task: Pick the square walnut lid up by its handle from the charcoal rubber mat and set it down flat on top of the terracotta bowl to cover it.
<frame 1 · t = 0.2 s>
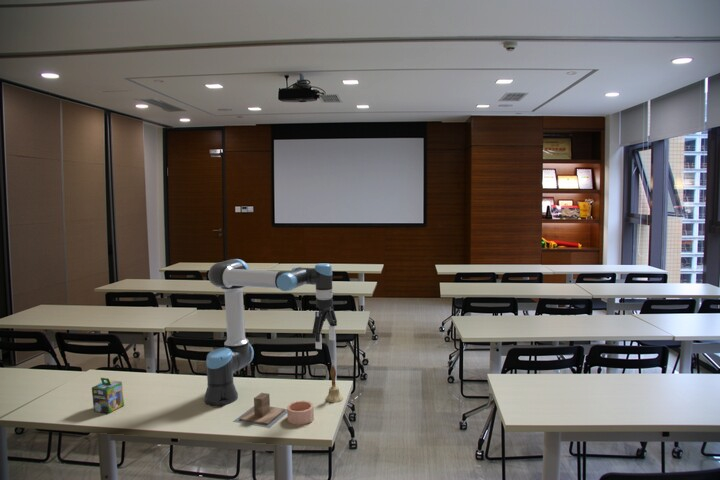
hand: (325, 344, 225), 28 cm above the table, tool pointing down, fingers open, 13 cm apart
chalk box: (108, 409, 227), on the table
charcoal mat: (262, 416, 215), on the table
terracotta bowl: (300, 419, 211), on the table
hand bell: (334, 399, 232), on the table
walnut lid: (262, 415, 215), point 1 cm above the table, touching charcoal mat
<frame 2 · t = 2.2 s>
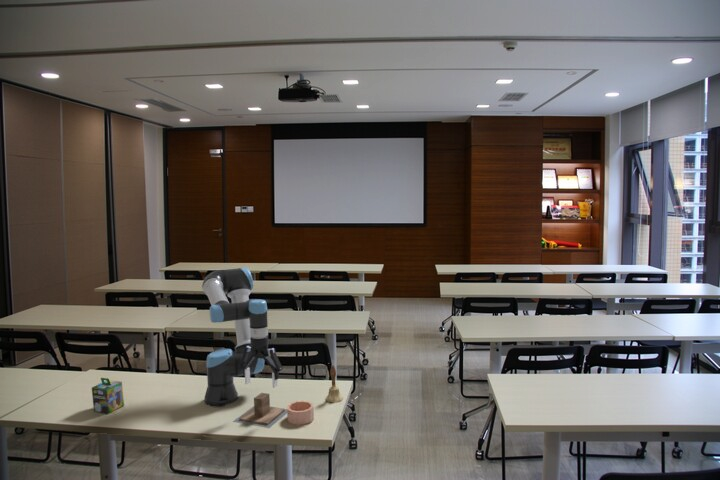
hand: (261, 384, 213), 14 cm above the table, tool pointing down, fingers open, 13 cm apart
nothing on the table moved.
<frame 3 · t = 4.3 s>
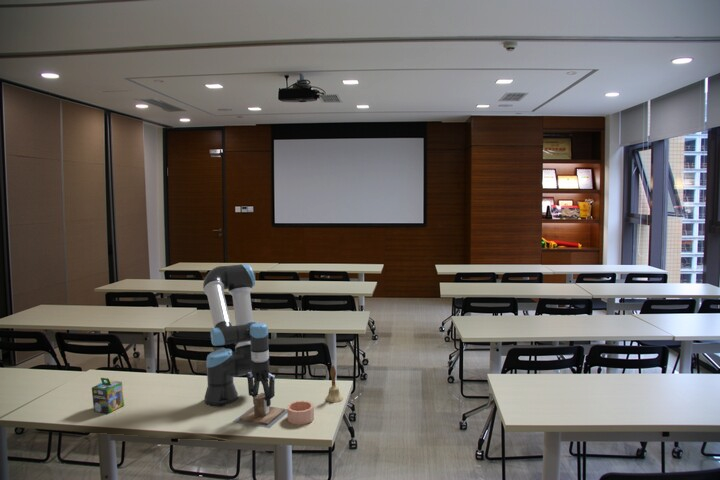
hand: (262, 412, 214), 2 cm above the table, tool pointing down, fingers closed on walnut lid, 4 cm apart
walnut lid: (262, 415, 215), point 1 cm above the table, touching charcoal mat, gripper
everything else where it was.
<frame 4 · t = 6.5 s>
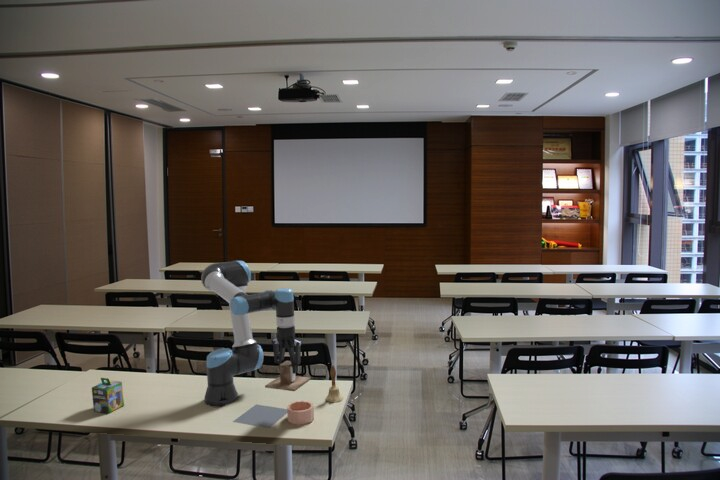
hand: (288, 379, 210), 17 cm above the table, tool pointing down, fingers closed on walnut lid, 4 cm apart
walnut lid: (288, 383, 210), point 16 cm above the table, touching gripper
everything else where it was.
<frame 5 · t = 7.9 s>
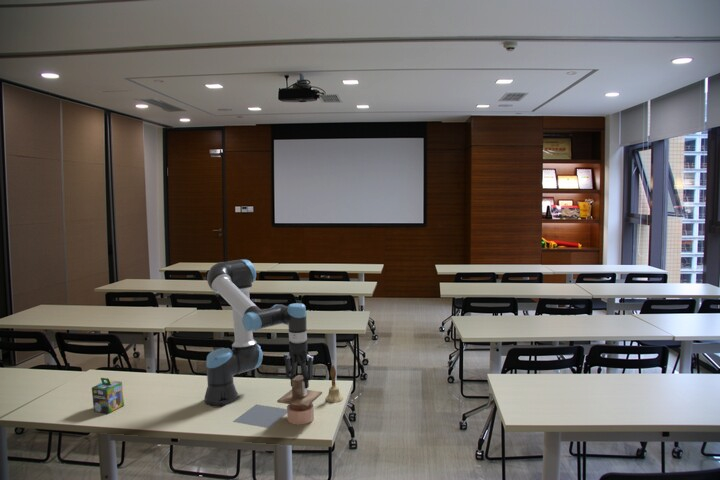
hand: (300, 394, 210), 11 cm above the table, tool pointing down, fingers closed on walnut lid, 4 cm apart
walnut lid: (300, 397, 210), point 10 cm above the table, touching gripper
everything else where it was.
when the fingers open (9 cm above the table, at t = 8.9 s): walnut lid drops 2 cm, resting on terracotta bowl.
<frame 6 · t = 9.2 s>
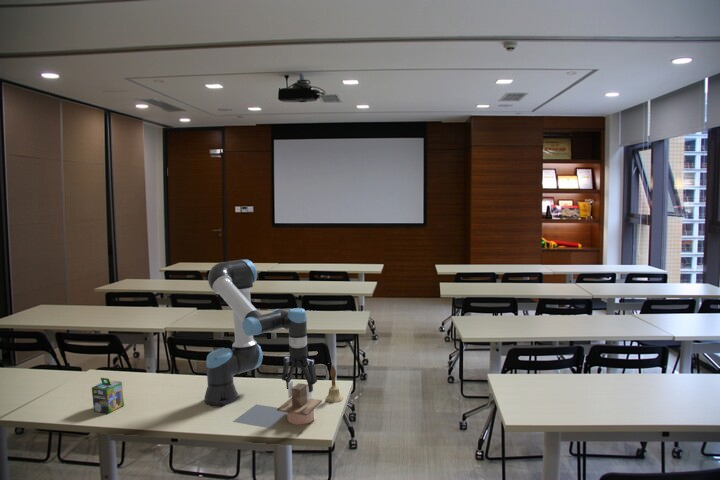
hand: (299, 397, 210), 10 cm above the table, tool pointing down, fingers open, 8 cm apart
terracotta bowl: (300, 419, 211), on the table, touching walnut lid
walnut lid: (299, 406, 211), point 6 cm above the table, touching terracotta bowl
everything else where it was.
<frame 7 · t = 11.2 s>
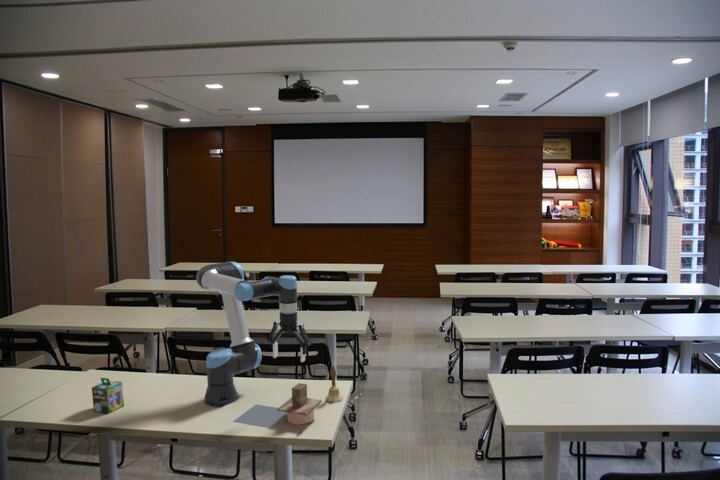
hand: (289, 359, 216), 24 cm above the table, tool pointing down, fingers open, 13 cm apart
terracotta bowl: (300, 419, 211), on the table
walnut lid: (299, 406, 211), point 6 cm above the table
everything else where it was.
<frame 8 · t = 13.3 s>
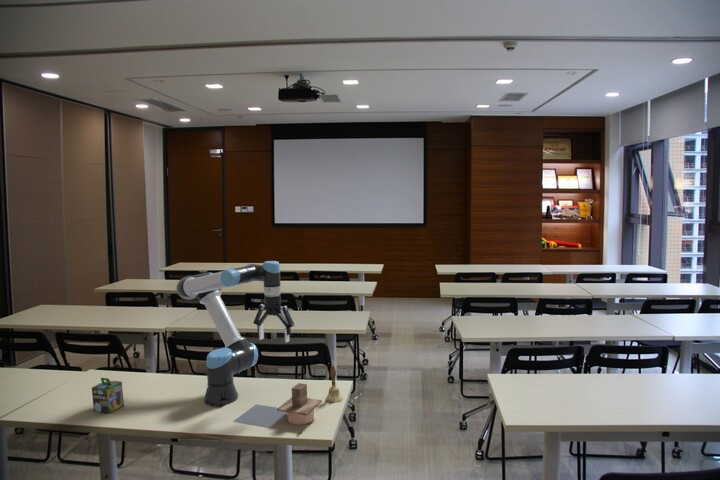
hand: (274, 340, 229), 29 cm above the table, tool pointing down, fingers open, 13 cm apart
nothing on the table moved.
at the end: walnut lid 0.2 cm off-centre on the terracotta bowl, point 6.0 cm above the terracotta bowl's base; walnut lid tilted 0°; the gripper is holding nothing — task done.
